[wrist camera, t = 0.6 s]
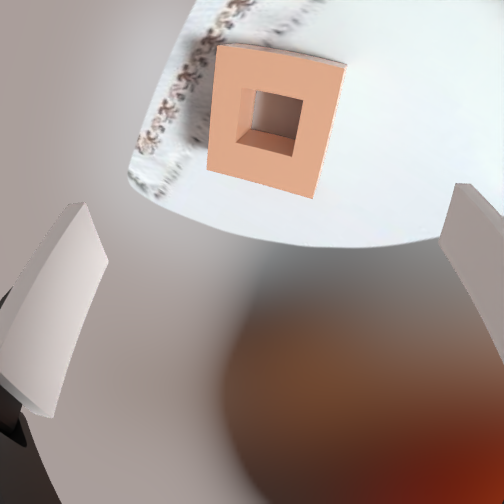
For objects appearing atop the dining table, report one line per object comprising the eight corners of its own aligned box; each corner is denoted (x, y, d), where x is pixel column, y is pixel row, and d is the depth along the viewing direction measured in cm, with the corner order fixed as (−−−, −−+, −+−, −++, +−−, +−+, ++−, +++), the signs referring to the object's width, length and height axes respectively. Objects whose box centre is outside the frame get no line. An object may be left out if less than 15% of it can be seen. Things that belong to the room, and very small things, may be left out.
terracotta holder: (236, 43, 30) (217, 45, 26) (347, 64, 28) (344, 68, 24) (224, 153, 39) (206, 169, 35) (319, 179, 37) (312, 198, 33)
